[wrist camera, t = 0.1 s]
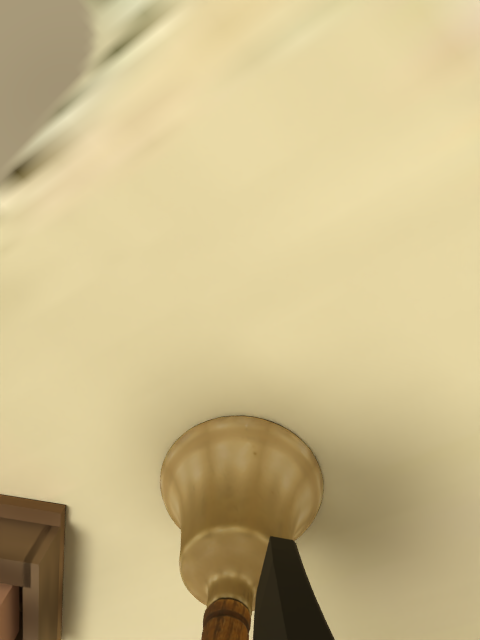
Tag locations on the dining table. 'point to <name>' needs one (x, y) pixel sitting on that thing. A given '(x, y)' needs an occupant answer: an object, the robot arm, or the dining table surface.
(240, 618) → the hand bell
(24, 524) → the wooden tray
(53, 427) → the dining table surface
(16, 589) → the key one terracotta
